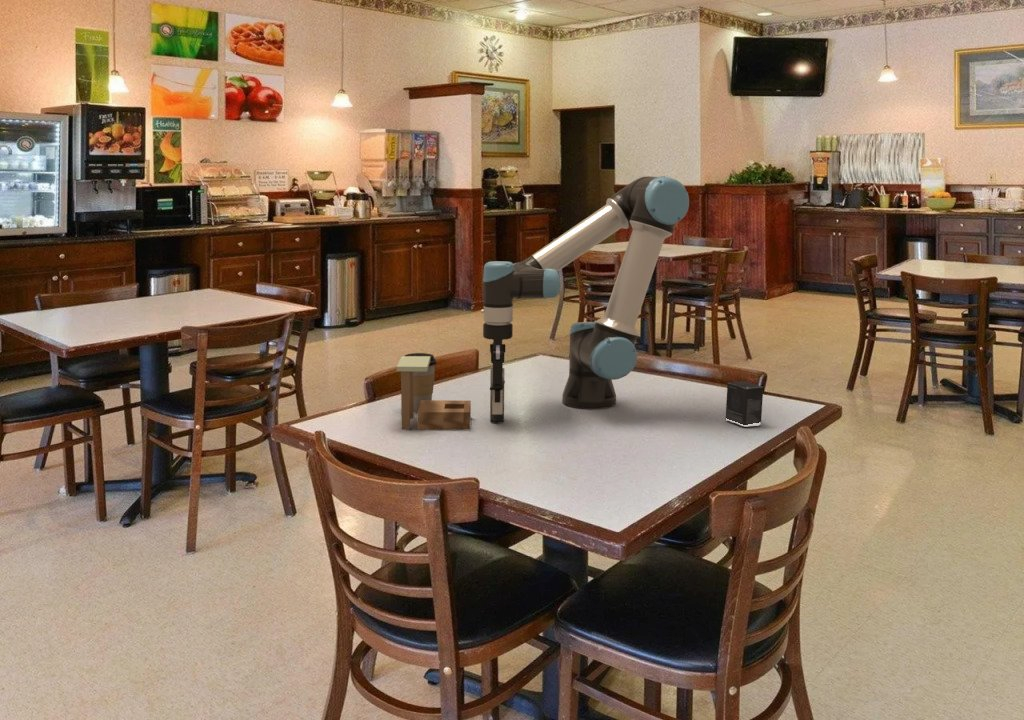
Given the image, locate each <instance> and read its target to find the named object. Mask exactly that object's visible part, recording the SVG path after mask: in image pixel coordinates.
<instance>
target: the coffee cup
mask: <svg viewBox="0 0 1024 720" xmlns="http://www.w3.org/2000/svg"><path fill="white" fill-rule="evenodd" d="M404 356H430V364H429V367H428V370H427V372H419V371H413V406H414V414H417V412H418V409H419V405H420V402H421V400H432V399H433V393H434V387H435V386H434V384H435V375H436V373H435V367H436V365H437V359H436V358H435V356H434V354H431V353H425V352H414V353H413V352H412V353H407V354H404Z"/></svg>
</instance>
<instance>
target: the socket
mask: <svg viewBox="0 0 1024 720" xmlns="http://www.w3.org/2000/svg"><path fill="white" fill-rule="evenodd" d="M471 407H472V406H471V400H449V399H448V400H443V399H442V400H441V399H440V400H435V399H433V400H421V402H420V405H419V409H418V412H417V413H416V414H417V430H441V431H442V430H452V431H453V430H456V431H457V430H458V431H459V430H462V431H463V430H464V431H465V430H470V427H471V426H470V425H471V417H472V416H471V414H472V413H471V411H472V409H471Z"/></svg>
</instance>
